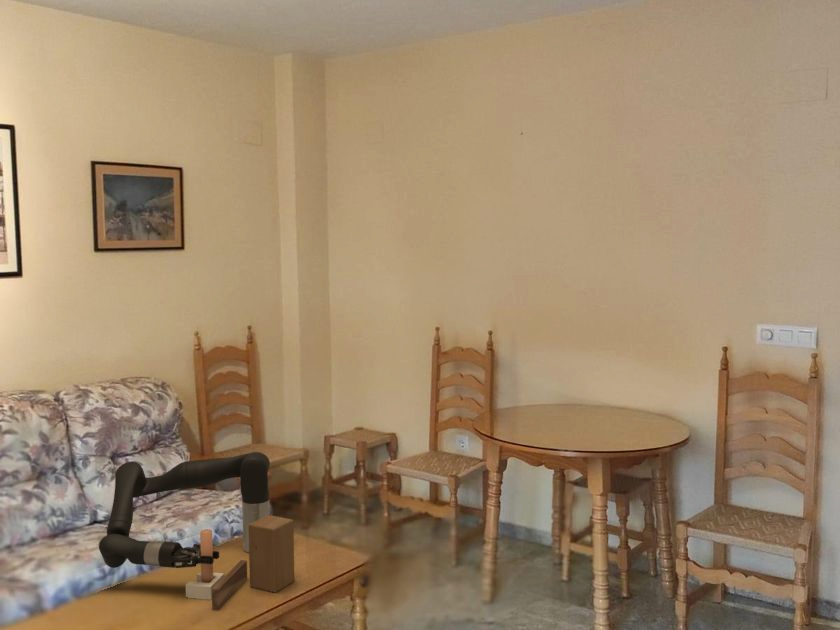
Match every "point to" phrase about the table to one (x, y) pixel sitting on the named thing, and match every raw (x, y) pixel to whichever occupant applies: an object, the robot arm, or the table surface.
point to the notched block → (202, 587)
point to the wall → (229, 585)
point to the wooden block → (271, 553)
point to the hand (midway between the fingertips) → (215, 557)
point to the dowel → (206, 551)
